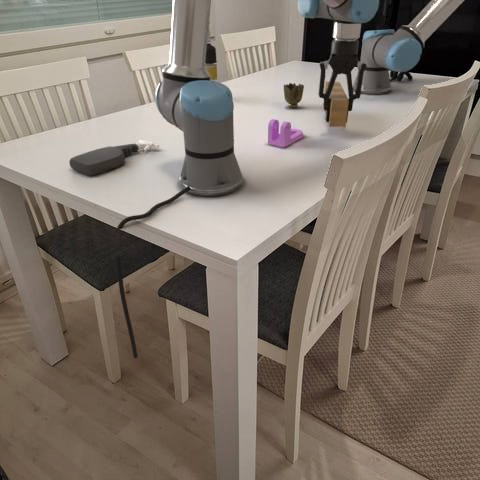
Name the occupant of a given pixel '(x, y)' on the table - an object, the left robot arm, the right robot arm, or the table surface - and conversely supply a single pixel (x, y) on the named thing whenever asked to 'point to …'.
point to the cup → (293, 94)
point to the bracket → (282, 134)
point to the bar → (337, 105)
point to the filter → (211, 60)
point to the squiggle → (400, 75)
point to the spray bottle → (106, 157)
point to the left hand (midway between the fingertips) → (336, 120)
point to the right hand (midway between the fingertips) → (364, 15)
